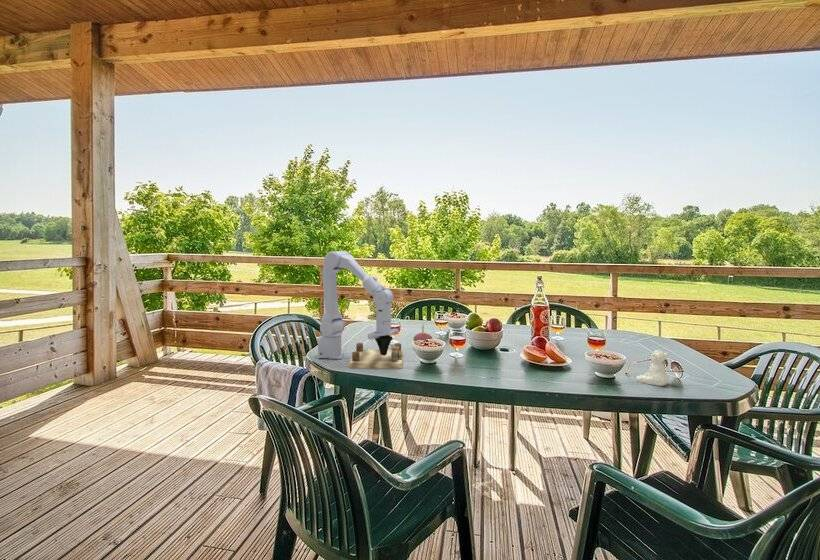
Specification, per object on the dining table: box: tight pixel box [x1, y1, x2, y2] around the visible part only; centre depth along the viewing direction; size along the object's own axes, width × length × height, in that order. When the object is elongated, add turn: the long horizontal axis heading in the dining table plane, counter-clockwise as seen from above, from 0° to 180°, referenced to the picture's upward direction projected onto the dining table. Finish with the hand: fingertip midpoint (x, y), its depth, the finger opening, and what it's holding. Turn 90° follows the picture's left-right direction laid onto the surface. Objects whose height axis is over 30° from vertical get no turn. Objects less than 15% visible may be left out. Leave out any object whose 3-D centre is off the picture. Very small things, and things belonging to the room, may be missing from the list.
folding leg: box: [391, 345, 399, 361], centre depth 171 cm, size 12×2×3 cm, turn 178°
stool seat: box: [348, 342, 404, 370], centre depth 173 cm, size 20×20×5 cm
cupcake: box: [412, 324, 433, 342], centre depth 193 cm, size 9×8×12 cm
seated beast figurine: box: [635, 349, 669, 387], centre depth 149 cm, size 10×9×12 cm
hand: (383, 354), depth 169 cm, fingers closed
